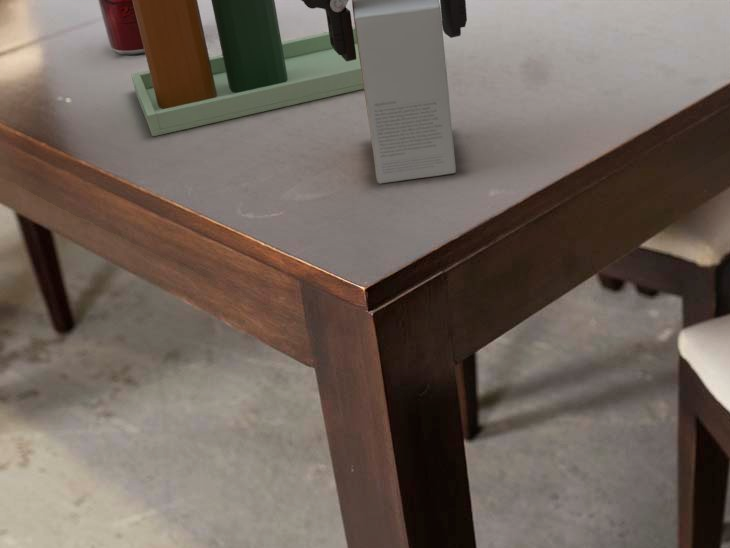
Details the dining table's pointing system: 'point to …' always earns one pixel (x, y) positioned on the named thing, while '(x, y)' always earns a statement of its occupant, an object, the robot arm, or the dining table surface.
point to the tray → (305, 83)
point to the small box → (405, 87)
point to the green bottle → (250, 43)
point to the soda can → (122, 26)
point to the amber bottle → (175, 51)
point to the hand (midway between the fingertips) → (400, 46)
